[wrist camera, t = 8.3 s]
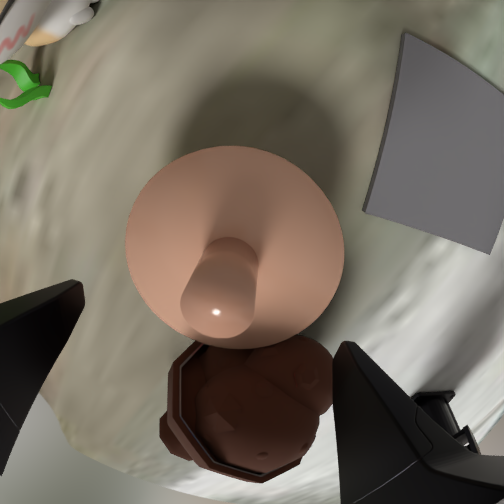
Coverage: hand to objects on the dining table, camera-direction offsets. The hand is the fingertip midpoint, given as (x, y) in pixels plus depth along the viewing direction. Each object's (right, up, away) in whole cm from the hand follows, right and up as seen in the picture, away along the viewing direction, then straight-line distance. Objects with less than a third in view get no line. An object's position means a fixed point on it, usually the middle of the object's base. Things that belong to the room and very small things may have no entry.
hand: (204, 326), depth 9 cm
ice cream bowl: (-4, -14, +12) cm, 19 cm away
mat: (+15, +9, +5) cm, 18 cm away
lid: (0, +2, +5) cm, 6 cm away
